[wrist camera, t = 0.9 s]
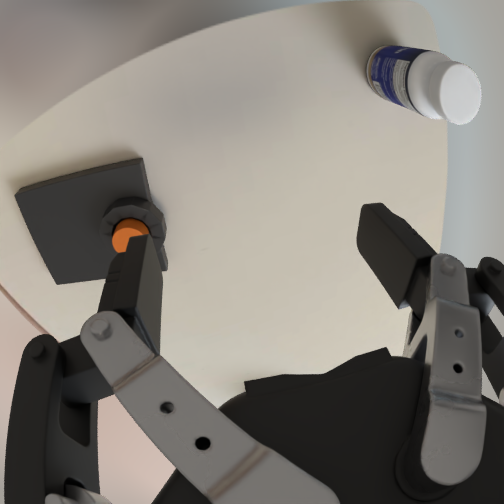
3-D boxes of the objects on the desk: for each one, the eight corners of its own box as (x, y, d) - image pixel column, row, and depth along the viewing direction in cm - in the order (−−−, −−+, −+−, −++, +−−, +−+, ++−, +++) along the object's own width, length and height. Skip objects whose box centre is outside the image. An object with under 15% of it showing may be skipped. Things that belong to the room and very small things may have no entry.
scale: (20, 188, 23) (6, 203, 21) (154, 155, 24) (149, 168, 22) (59, 277, 30) (52, 295, 28) (177, 261, 32) (176, 280, 30)
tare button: (111, 221, 25) (107, 231, 23) (144, 215, 25) (141, 225, 24) (121, 249, 27) (118, 259, 25) (152, 244, 27) (150, 255, 26)
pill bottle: (413, 49, 21) (489, 67, 13) (410, 102, 24) (480, 135, 16) (364, 40, 20) (437, 48, 12) (362, 97, 24) (430, 129, 16)
